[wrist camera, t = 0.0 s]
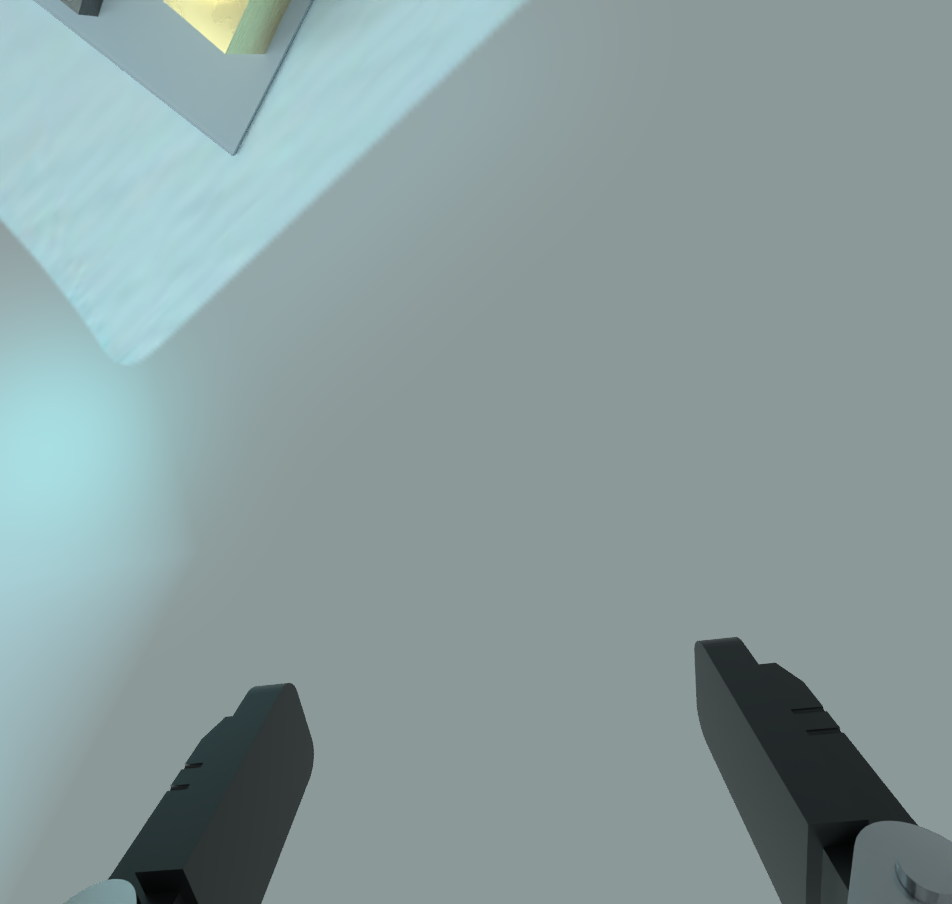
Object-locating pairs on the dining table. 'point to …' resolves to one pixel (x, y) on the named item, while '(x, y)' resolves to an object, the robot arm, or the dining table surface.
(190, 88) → the mat
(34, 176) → the dining table surface
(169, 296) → the dining table surface
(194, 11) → the brass knob block
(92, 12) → the metal ladle
